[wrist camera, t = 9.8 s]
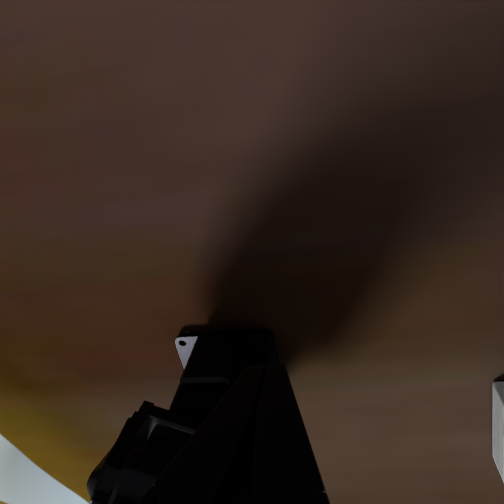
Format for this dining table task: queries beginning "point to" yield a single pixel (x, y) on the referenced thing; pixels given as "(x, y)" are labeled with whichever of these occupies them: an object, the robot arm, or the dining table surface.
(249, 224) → the dining table surface
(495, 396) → the supplement box
